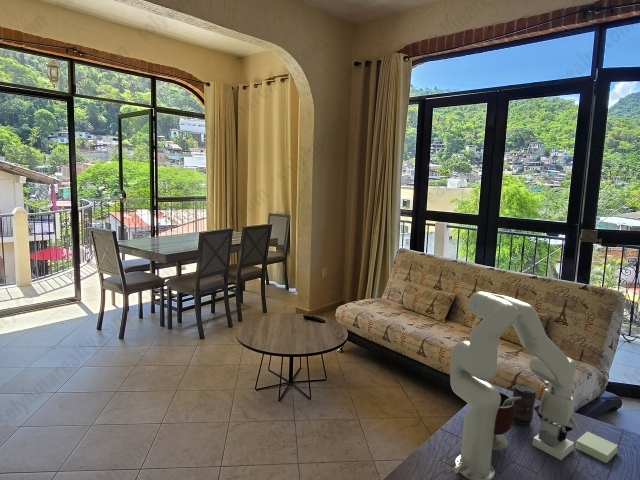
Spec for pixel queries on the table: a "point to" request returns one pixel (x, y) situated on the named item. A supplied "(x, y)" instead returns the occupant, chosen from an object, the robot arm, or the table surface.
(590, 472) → the table surface
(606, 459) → the stand
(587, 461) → the table surface
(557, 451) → the stand
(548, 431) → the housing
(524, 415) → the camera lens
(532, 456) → the table surface
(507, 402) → the mate gourd
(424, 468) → the table surface
